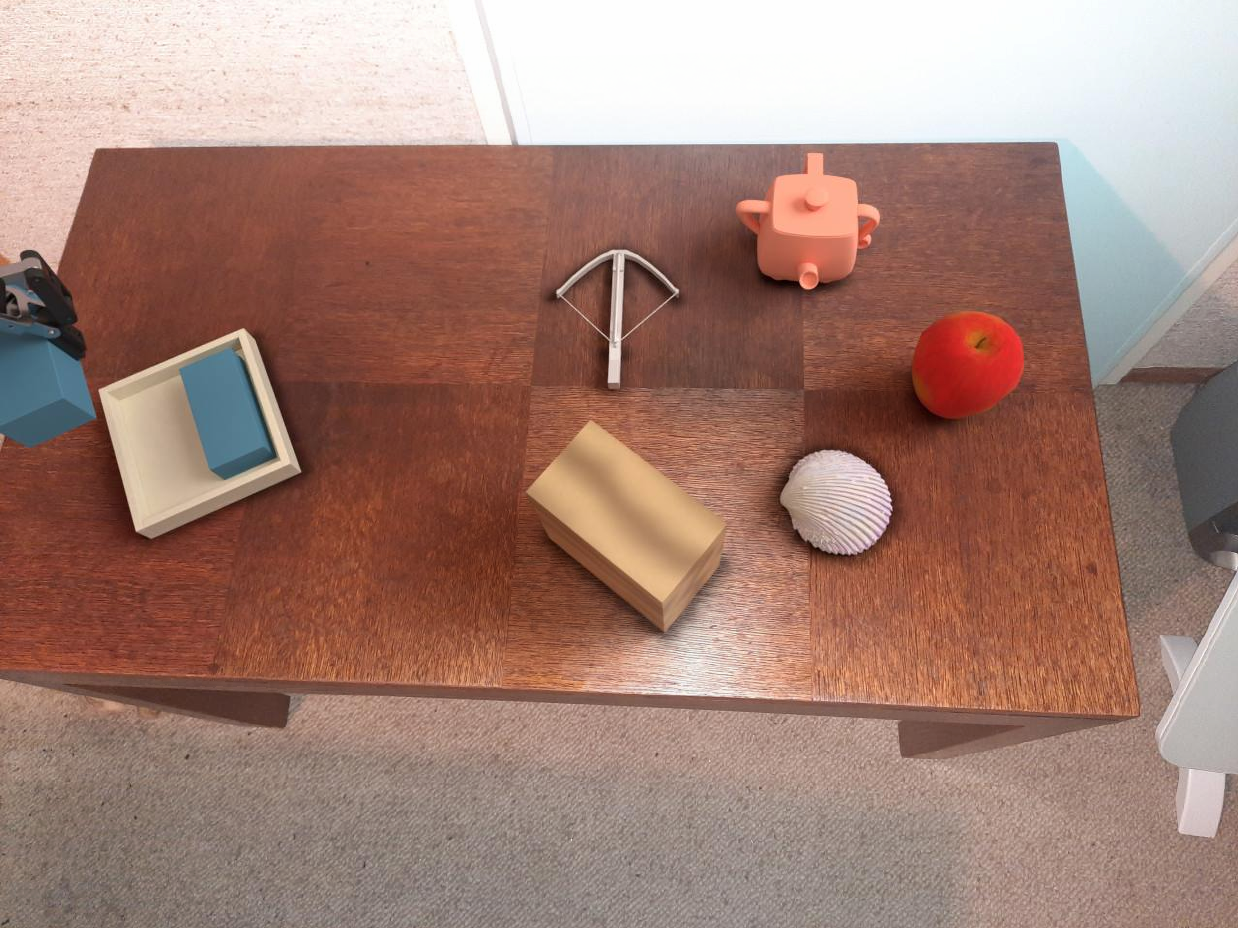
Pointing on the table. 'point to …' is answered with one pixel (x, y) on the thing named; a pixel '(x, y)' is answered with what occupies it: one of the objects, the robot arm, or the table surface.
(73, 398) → the blue rectangular block
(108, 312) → the table surface
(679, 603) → the tan wooden block
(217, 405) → the blue brick
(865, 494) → the seashell
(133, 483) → the cream tray
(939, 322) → the apple
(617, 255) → the crossbow
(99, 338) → the table surface
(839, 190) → the teapot
